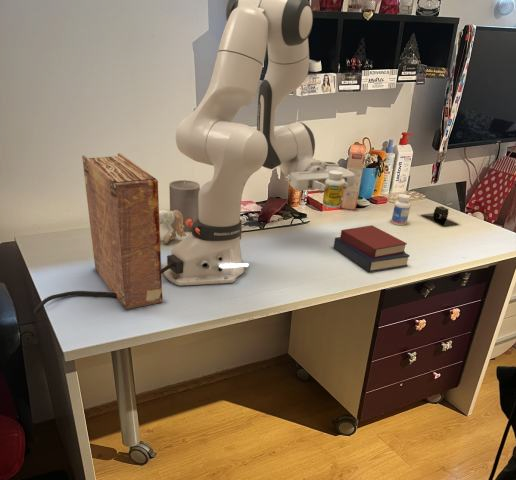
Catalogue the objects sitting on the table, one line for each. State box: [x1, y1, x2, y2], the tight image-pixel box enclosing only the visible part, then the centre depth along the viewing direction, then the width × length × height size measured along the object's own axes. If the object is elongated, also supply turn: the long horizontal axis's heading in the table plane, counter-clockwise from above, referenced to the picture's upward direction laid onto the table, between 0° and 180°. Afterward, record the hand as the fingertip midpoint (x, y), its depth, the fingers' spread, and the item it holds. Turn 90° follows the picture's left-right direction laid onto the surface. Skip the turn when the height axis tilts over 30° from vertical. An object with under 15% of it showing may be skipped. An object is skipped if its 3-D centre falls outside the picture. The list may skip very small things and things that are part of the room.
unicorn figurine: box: [159, 209, 187, 245], centre depth 159 cm, size 7×20×13 cm, turn 117°
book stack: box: [333, 224, 411, 273], centre depth 161 cm, size 14×19×6 cm
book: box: [81, 152, 163, 310], centre depth 129 cm, size 25×9×30 cm, turn 31°
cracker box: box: [340, 144, 367, 211], centre depth 200 cm, size 14×6×21 cm, turn 168°
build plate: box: [420, 205, 459, 228], centre depth 195 cm, size 12×7×5 cm, turn 26°
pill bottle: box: [391, 193, 411, 226], centre depth 188 cm, size 6×5×10 cm
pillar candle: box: [168, 179, 201, 232], centre depth 172 cm, size 10×10×15 cm
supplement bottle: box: [322, 171, 344, 209], centre depth 155 cm, size 5×5×10 cm
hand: (335, 187), depth 153 cm, fingers closed on supplement bottle, 5 cm apart
